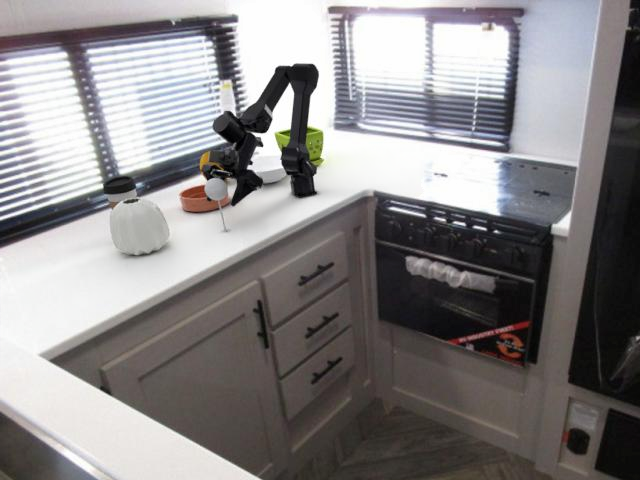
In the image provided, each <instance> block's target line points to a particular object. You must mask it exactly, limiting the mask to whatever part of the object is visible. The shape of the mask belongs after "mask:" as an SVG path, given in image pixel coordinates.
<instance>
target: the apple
mask: <svg viewBox="0 0 640 480" xmlns="http://www.w3.org/2000/svg"><path fill="white" fill-rule="evenodd" d="M213 150H214V151H217V150H215V149H213ZM209 152H210V150H209V151H206V152H204V153H203V154H202V155H201V157H200V160H199V170H200V173H201V175H202V176H203V178H204V179H205V180H206V181H207V179H206V177H205V176H204V175H203V173H202V172H201V169H202V166H203V165H204V164H214V165H216V166H218V165H219V164H218V163H214V162H208V160H209ZM218 167H219V168H220V169H222V170H223V168H221V167H220V166H218ZM228 175H229V174H228ZM227 181H228V178H226V179H225V181H224V182H225V183H226V182H227Z"/></svg>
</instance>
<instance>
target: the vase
mask: <svg viewBox="0 0 640 480" xmlns="http://www.w3.org/2000/svg"><path fill="white" fill-rule="evenodd" d="M109 227H110V236H111V239H112V243H113V245H114V247H115V249H117V250H119V251H120V252H122V253H124V254H125V255H128V256H129V255H131V256H132V255H135V256H142V255H144V254H145V255H147V254H148V255H149V254H150V253H152V252H156V251H159V250H160V249H161V248H162V247H164V246H166V244H167V242H168V239H169V238H170V234H171V232H170V227H169V224H168V221H167V219H166V217H165V215H164V213H163V211H162V210H161V208H160V207H159V206H158V205H157V204H155V203H154V202H152V201H151V200H148V199H146V198H142V197H139V196H138V197H137V198H130V199H125V200H123V201H121V202H120V203H118V204H117V205H116V206H115V207H114V209H113V210H112V209H111V211H110V213H109Z"/></svg>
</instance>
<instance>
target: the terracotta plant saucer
mask: <svg viewBox="0 0 640 480" xmlns="http://www.w3.org/2000/svg"><path fill="white" fill-rule="evenodd" d="M205 185H206V184H199V185H195V186H192V187H189V188H186V189H184V190H182V191H180V192H179V194H178V197H179V198H178V199H179V201H180V206H181V208H182V209H183V210H184V211H185V212H195V213H197V212H198V213H203V212H209V211H215V210H217V209H220V208H219V203H218V200H212V201H211V202H208V201H207V194H206V193H205ZM230 200H231V199H230V194H229V191H228V192H227V195H226V196H225V197H224V198H223V199H221V200H220V204H221V208H222V207H224V206H226V205H227V204H228V203H230V202H231V201H230Z"/></svg>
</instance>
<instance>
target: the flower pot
mask: <svg viewBox="0 0 640 480" xmlns="http://www.w3.org/2000/svg"><path fill="white" fill-rule="evenodd" d="M290 131H291V128H288V129H284V130H279V131H275V132H274V138H275V141H276V145H277V146H278V149H279V151H280V152H281V153H282V150H281V149H282V147H283V146H284V147H286V146H287V144H288V143H289V141H290ZM306 146H307V148H308V151H309V153H310V161H311V162H312V163H313V164H314V165H315V166H316V167H318V166H320V165H321V164H322V163H323V162H324V158H322V157H321V156H322V154H323V151H324V130H322V129H319V128H317V127H315V126H311V125H308V126H307V136H306Z"/></svg>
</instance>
